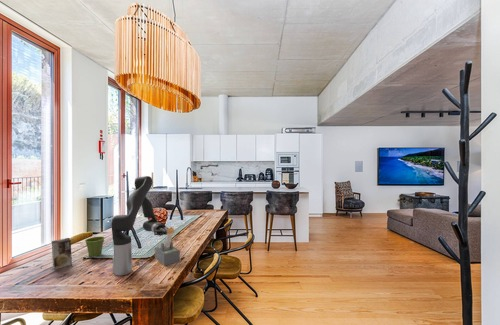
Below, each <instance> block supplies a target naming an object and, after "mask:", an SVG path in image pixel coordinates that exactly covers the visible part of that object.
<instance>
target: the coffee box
mask: <svg viewBox="0 0 500 325" xmlns="http://www.w3.org/2000/svg"><path fill="white" fill-rule="evenodd" d="M51 255H52V268H53V270H57V269H62V268H66V267H68V266H72V265H73V261H72V258H73V257H72V256H73V255H72V242H71V238H69V237H66V238H60V239H56V240H52V241H51Z"/></svg>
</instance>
